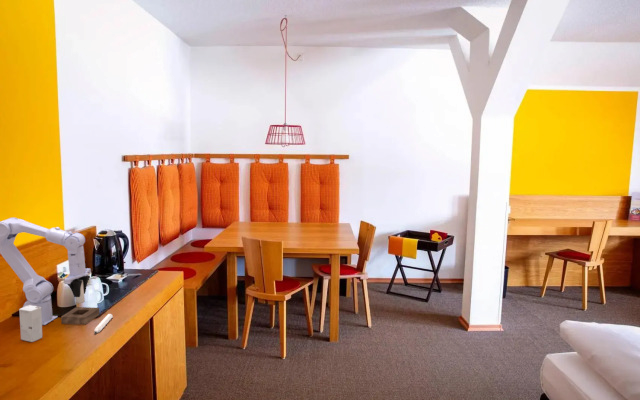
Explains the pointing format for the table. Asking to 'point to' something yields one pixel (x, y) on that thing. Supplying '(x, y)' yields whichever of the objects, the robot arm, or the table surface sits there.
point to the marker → (103, 323)
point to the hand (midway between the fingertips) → (79, 295)
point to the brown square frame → (80, 315)
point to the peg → (81, 294)
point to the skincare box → (30, 323)
